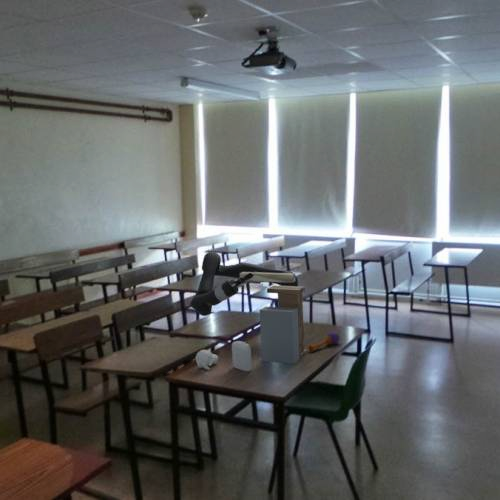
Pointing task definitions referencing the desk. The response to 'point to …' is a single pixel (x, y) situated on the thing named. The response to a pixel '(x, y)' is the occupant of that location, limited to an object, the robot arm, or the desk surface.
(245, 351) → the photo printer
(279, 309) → the grey block
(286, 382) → the desk surface
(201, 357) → the white rabbit figurine
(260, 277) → the wooden batten
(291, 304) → the tan tall block
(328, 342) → the kendama
